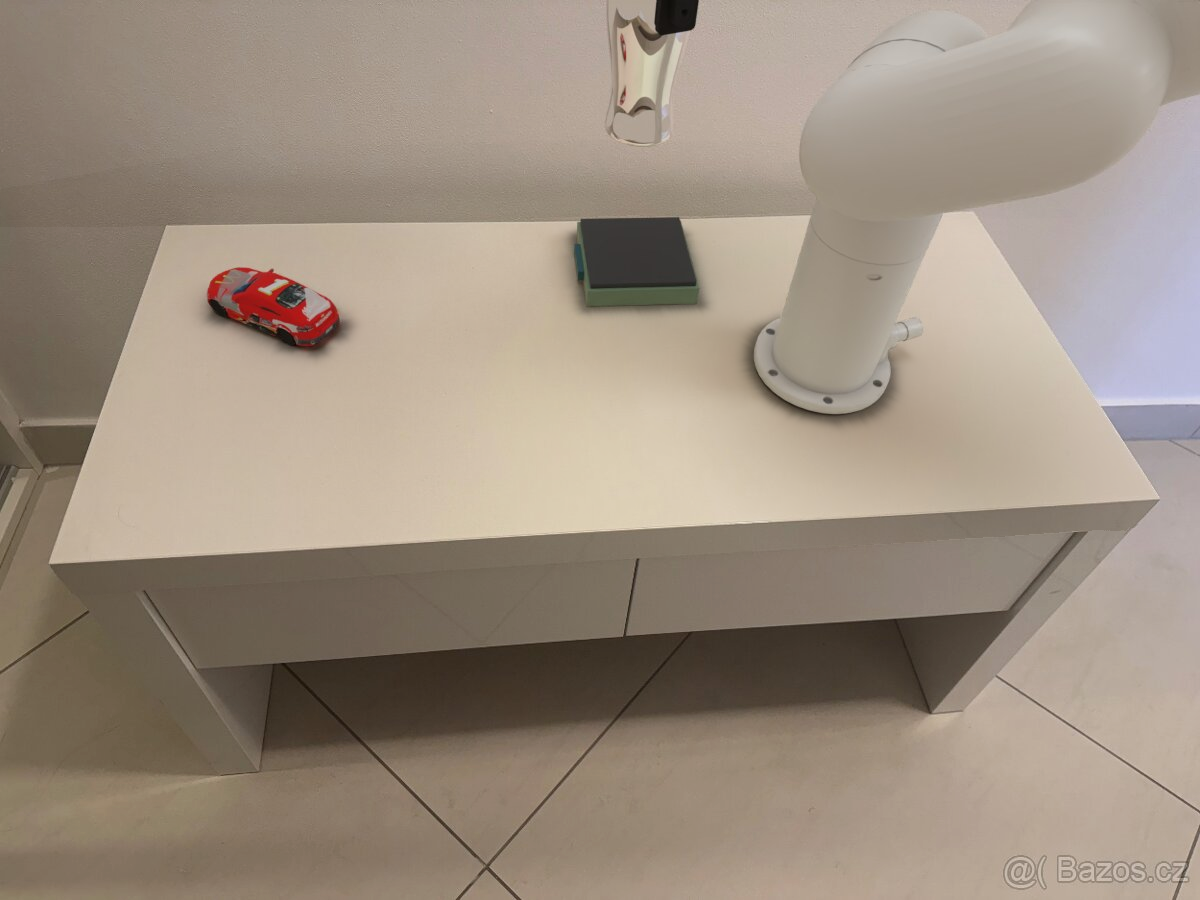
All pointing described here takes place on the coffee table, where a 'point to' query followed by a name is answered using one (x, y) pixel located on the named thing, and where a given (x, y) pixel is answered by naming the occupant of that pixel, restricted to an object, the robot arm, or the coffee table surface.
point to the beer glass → (641, 73)
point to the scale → (634, 262)
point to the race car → (273, 305)
